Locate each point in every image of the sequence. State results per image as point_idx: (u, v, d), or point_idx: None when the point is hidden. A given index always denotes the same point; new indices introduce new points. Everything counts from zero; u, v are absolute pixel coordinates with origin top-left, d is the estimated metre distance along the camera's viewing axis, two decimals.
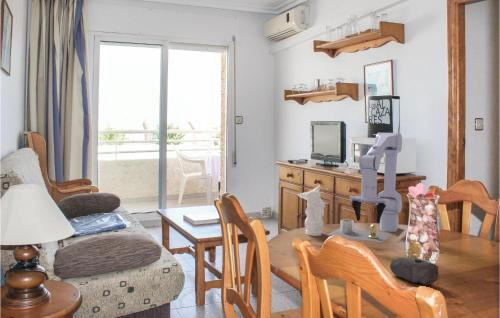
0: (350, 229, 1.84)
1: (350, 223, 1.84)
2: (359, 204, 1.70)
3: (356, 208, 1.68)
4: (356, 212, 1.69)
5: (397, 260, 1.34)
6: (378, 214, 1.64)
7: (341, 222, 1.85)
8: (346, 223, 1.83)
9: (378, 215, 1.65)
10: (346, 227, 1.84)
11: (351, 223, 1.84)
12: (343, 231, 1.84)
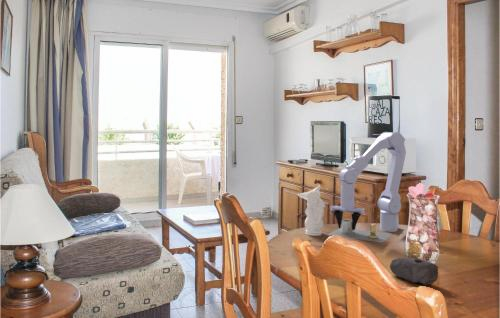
0: (350, 229, 1.84)
1: (350, 223, 1.84)
2: (341, 213, 1.88)
3: (338, 217, 1.86)
4: (338, 221, 1.86)
5: (397, 260, 1.34)
6: (353, 222, 1.83)
7: (341, 222, 1.85)
8: (346, 223, 1.83)
9: (353, 223, 1.83)
10: (346, 227, 1.84)
11: (351, 223, 1.84)
12: (343, 231, 1.84)
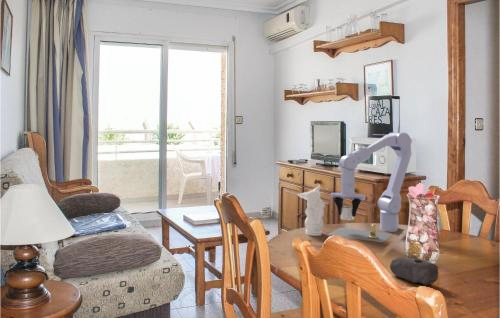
0: (350, 216, 1.83)
1: (350, 210, 1.83)
2: (341, 200, 1.87)
3: (338, 204, 1.85)
4: (338, 207, 1.86)
5: (397, 260, 1.34)
6: (353, 209, 1.82)
7: (341, 209, 1.85)
8: (346, 210, 1.83)
9: (353, 209, 1.83)
10: (346, 214, 1.83)
11: (351, 210, 1.83)
12: (343, 218, 1.84)
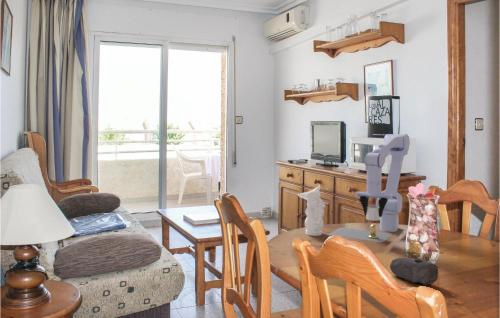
0: (377, 216, 1.74)
1: (377, 209, 1.74)
2: (367, 199, 1.78)
3: (364, 203, 1.77)
4: (364, 207, 1.77)
5: (397, 260, 1.34)
6: (380, 208, 1.74)
7: (367, 208, 1.76)
8: (373, 209, 1.74)
9: (380, 209, 1.74)
10: (373, 214, 1.74)
11: (378, 209, 1.74)
12: (369, 218, 1.75)
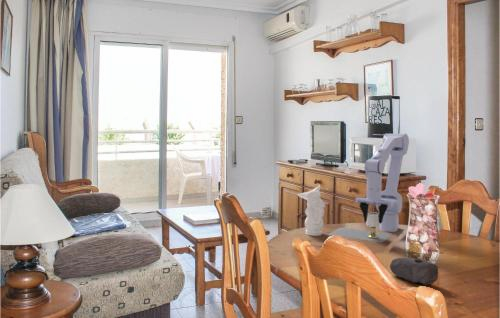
0: (377, 222, 1.75)
1: (377, 216, 1.74)
2: (367, 206, 1.78)
3: (364, 209, 1.77)
4: (364, 213, 1.77)
5: (397, 260, 1.34)
6: (380, 215, 1.74)
7: (367, 215, 1.76)
8: (373, 216, 1.74)
9: (380, 216, 1.74)
10: (373, 220, 1.74)
11: (378, 216, 1.75)
12: (369, 224, 1.75)
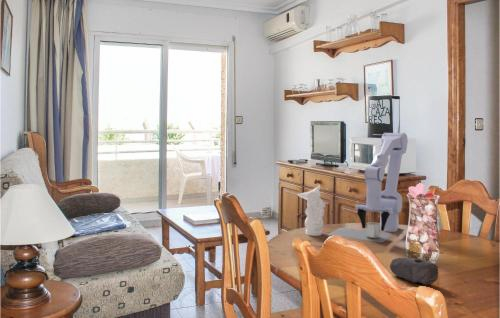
0: (377, 233, 1.75)
1: (377, 226, 1.75)
2: (364, 212, 1.79)
3: (361, 216, 1.77)
4: (361, 220, 1.78)
5: (397, 260, 1.34)
6: (382, 222, 1.73)
7: (367, 225, 1.76)
8: (372, 226, 1.75)
9: (382, 223, 1.74)
10: (372, 231, 1.75)
11: (378, 226, 1.75)
12: (369, 235, 1.75)
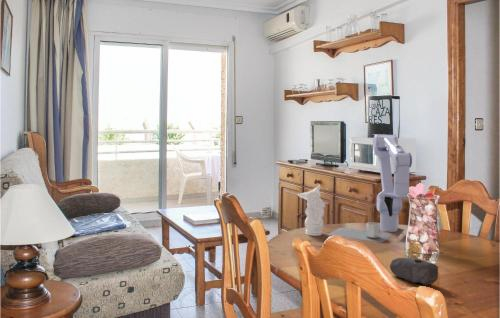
0: (377, 233, 1.75)
1: (377, 226, 1.75)
2: (391, 200, 1.76)
3: (389, 204, 1.74)
4: (389, 208, 1.75)
5: (397, 260, 1.34)
6: None
7: (367, 225, 1.76)
8: (372, 226, 1.75)
9: None
10: (372, 231, 1.75)
11: (378, 226, 1.75)
12: (369, 235, 1.75)
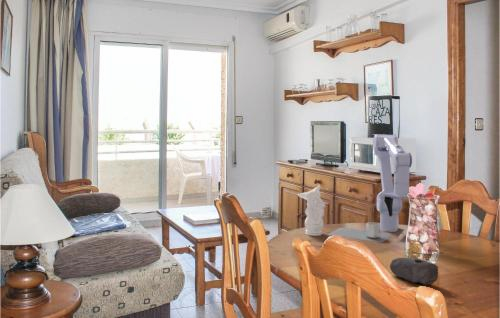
0: (377, 233, 1.75)
1: (377, 226, 1.75)
2: (391, 200, 1.76)
3: (389, 204, 1.74)
4: (389, 208, 1.75)
5: (397, 260, 1.34)
6: None
7: (367, 225, 1.76)
8: (372, 226, 1.75)
9: None
10: (372, 231, 1.75)
11: (378, 226, 1.75)
12: (369, 235, 1.75)
